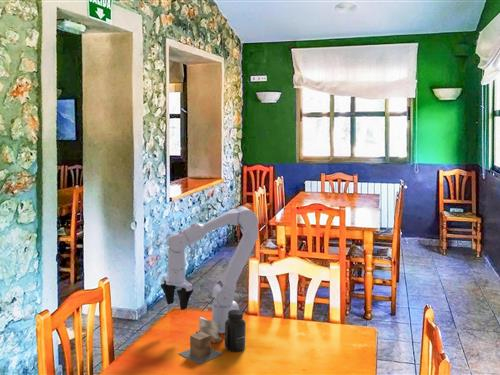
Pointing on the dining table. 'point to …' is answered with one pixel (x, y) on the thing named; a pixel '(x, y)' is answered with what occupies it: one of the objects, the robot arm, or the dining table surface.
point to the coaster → (203, 359)
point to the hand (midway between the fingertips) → (176, 306)
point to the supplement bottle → (235, 331)
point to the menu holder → (209, 329)
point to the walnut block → (200, 344)
